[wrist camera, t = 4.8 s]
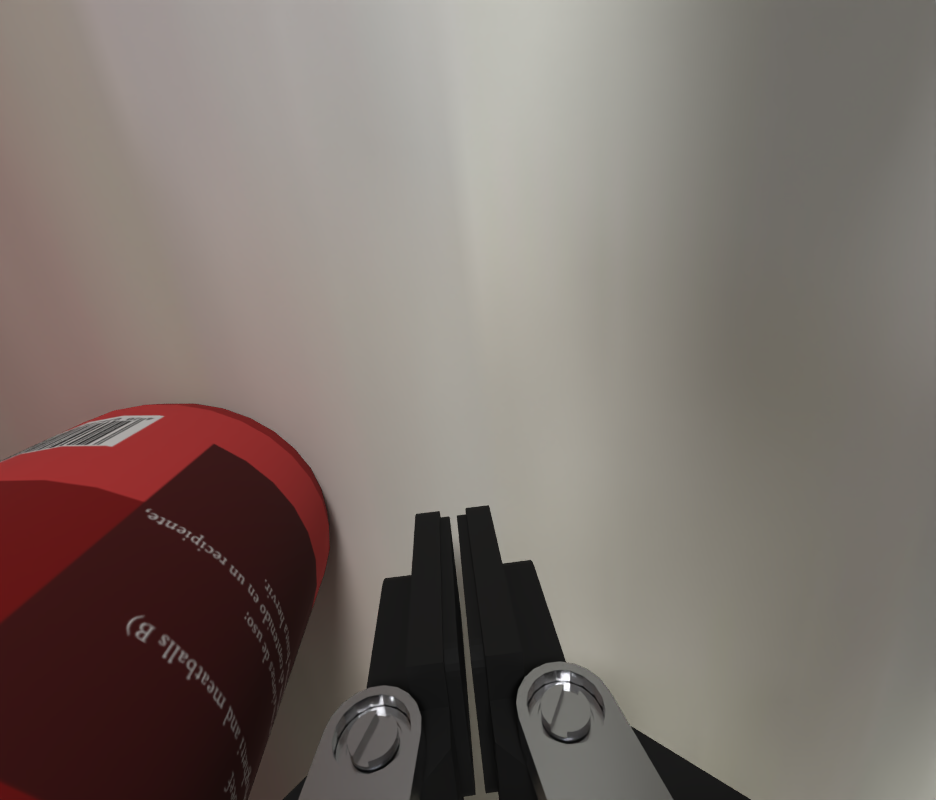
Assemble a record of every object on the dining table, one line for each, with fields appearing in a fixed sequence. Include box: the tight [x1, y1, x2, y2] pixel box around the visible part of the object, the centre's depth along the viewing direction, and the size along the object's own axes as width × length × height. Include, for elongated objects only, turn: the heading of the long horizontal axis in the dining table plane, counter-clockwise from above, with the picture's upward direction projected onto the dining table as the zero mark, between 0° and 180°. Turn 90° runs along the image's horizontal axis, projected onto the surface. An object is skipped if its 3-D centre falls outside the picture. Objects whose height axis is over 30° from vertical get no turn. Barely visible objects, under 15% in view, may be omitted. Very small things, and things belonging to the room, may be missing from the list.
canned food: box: [0, 404, 330, 800], centre depth 8 cm, size 8×8×11 cm
